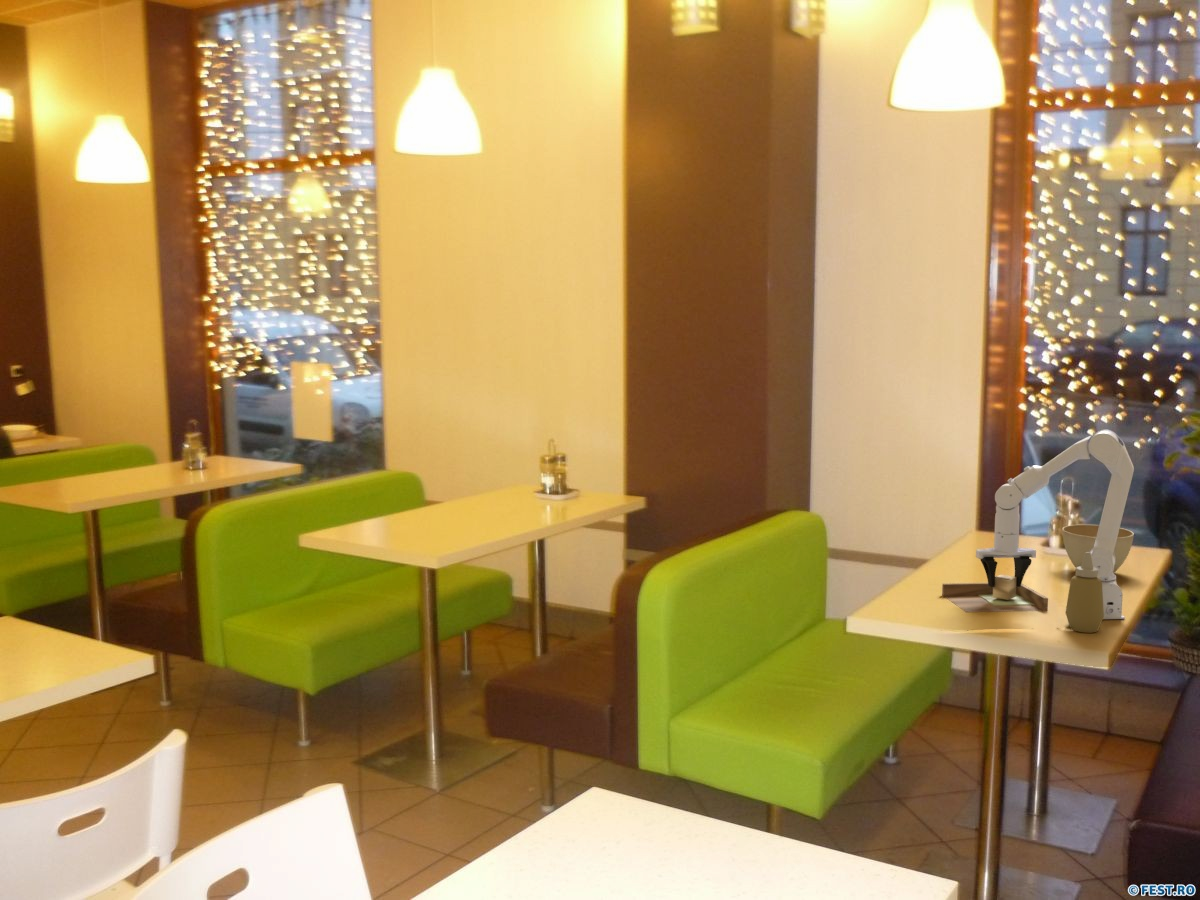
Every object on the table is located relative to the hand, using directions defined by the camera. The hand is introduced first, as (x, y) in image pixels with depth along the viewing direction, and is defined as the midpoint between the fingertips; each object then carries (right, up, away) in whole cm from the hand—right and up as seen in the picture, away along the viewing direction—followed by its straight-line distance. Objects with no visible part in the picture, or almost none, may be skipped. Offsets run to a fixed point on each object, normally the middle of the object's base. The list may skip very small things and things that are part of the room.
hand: (1004, 586), depth 281 cm
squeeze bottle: (+10, -8, -23) cm, 26 cm away
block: (0, -3, 0) cm, 3 cm away
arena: (-3, -5, -2) cm, 6 cm away
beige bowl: (+37, -1, +32) cm, 48 cm away
